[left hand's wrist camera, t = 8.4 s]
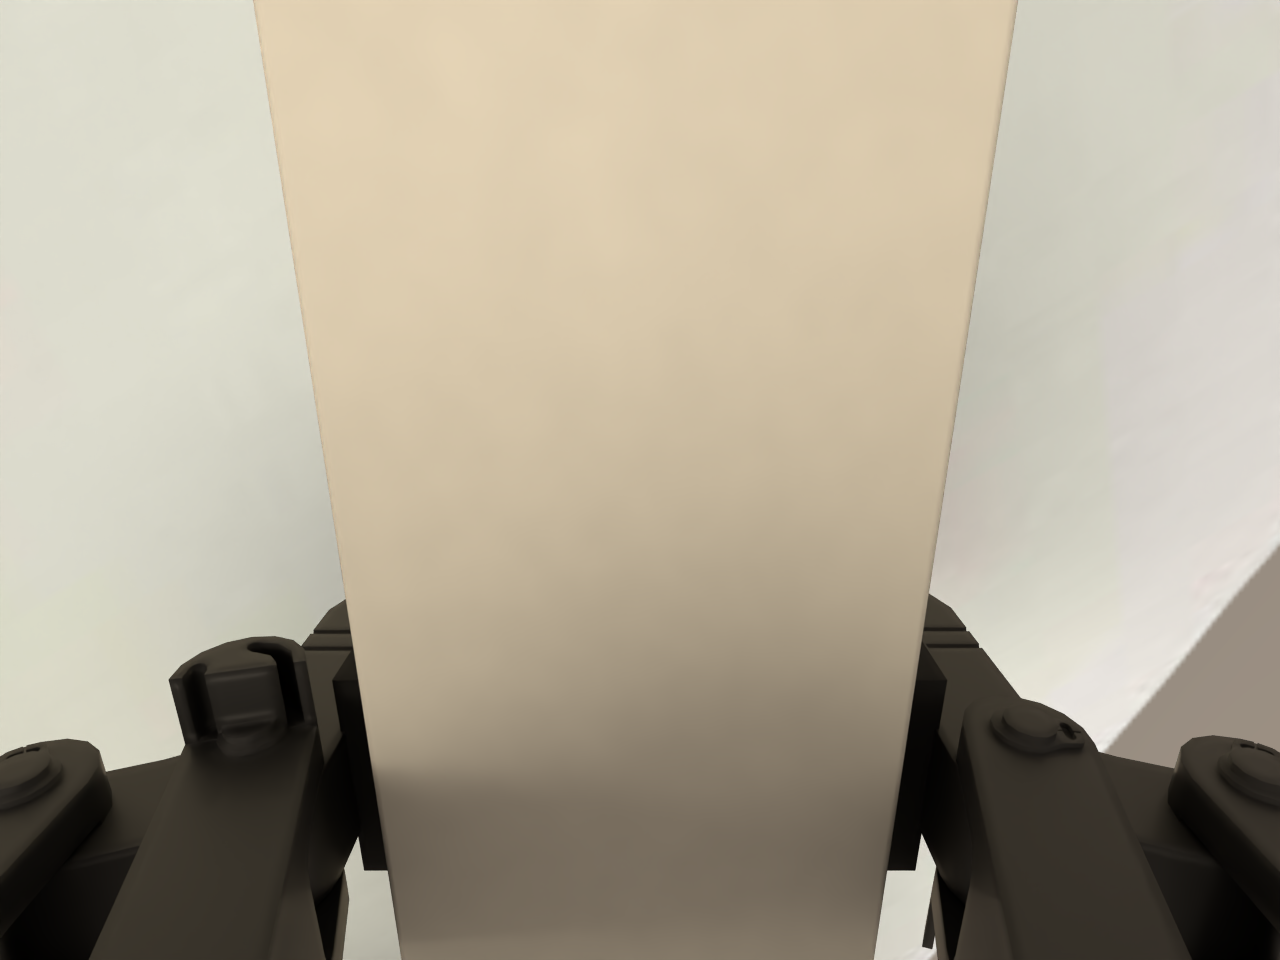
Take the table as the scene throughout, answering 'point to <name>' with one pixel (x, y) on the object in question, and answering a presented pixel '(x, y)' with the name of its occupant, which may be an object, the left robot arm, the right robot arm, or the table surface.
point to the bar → (636, 442)
